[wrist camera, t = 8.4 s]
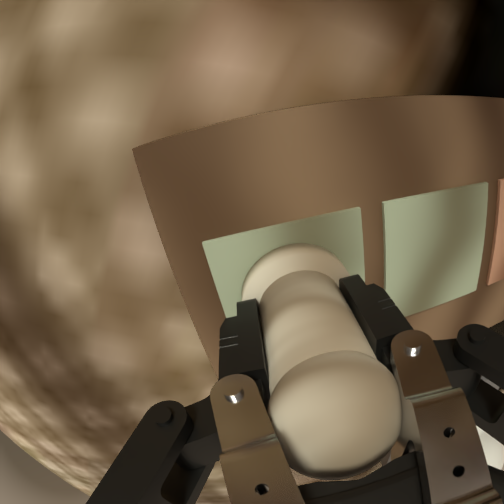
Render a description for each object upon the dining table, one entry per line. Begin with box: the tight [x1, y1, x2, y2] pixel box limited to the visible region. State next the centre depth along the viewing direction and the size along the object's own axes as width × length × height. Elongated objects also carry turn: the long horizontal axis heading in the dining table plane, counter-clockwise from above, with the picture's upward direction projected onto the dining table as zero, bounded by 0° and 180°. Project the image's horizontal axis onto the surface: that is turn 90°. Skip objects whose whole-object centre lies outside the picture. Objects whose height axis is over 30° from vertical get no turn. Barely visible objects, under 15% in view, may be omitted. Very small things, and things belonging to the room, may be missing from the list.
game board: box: [132, 95, 504, 378], centre depth 13 cm, size 30×14×2 cm, turn 103°
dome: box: [476, 426, 504, 470], centre depth 14 cm, size 7×7×7 cm
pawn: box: [241, 243, 402, 480], centre depth 9 cm, size 4×4×8 cm
